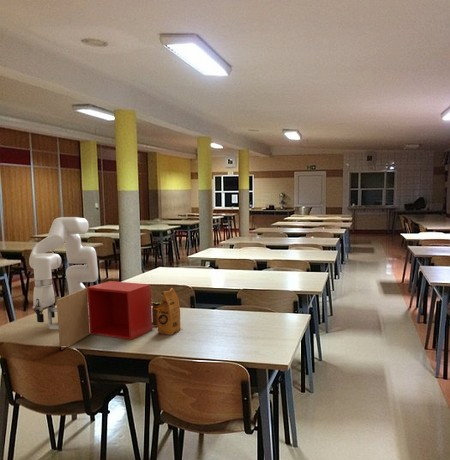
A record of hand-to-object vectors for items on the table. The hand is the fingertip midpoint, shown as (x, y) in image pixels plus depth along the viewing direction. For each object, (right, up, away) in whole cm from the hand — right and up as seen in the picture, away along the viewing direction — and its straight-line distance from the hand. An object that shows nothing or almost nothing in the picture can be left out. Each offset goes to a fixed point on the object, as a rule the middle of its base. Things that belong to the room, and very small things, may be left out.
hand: (46, 319), depth 228 cm
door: (+7, -12, +11) cm, 18 cm away
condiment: (+46, -8, +39) cm, 61 cm away
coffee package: (+55, -10, +25) cm, 61 cm away
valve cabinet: (+30, -10, +26) cm, 41 cm away
